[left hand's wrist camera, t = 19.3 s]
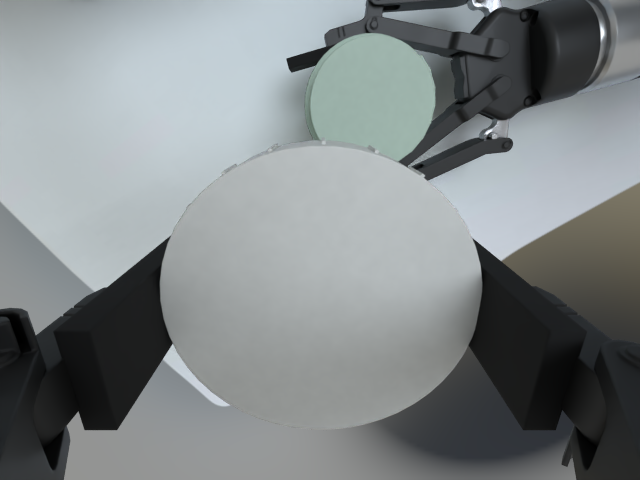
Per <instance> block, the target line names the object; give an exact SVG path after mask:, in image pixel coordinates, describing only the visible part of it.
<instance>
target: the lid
mask: <svg viewBox="0 0 640 480" xmlns="http://www.w3.org/2000/svg"><path fill="white" fill-rule="evenodd" d="M221 174H222V176H220V177H219V178H218V179H217V180H215V181H214V182H213V183H212V184H211V185H209V186H208V187H207V188H206V189H204V190H203V191H202V192H201V193H200V194H199V195H198V197H197V198H196V199H195V200H194V201H193V202H192V203H191V204H189V205H188V206H187V209H186V211H185V212H184V214H183V215H182V217H181V218H180V220H179V221H178V223H177V224H176V226H175V228H174V231H173V233H172V235H171V237H170V239H169V242H168V244H167V247H166V251H165V254H164V258H163V261H162V268H161V276H160V302H161V307H162V313H163V318H164V322H165V325H166V328H167V331H168V334H169V336H170V338H171V340H172V343H173V345H174V347H175V349H176V351H177V353H178V354H179V356H180V357H181V358H182V360H183V361H184V363H185V364H186V366H187V367H188V368H189V370H190V371H191V372H192V373H193V374H194V375H195V377H196V378H197V379H198V380H199V381H200V382H201V383H202V384H203V385H205V386H206V387H207V388H208V389H209V390H210V391H211V392H212V393H214V394H215V395H216V396H218V397H219V398H221V399H222V400H223V401H225V402H226V403H228V404H230V405H232V406H233V407H235V408H237V409H239V410H241V411H242V412H245V413H247V414H249V415H252V416H254V417H256V418H259V419H262V420H265V421H268V422H271V423H275V424H279V425H284V426H289V427H294V428H304V429H338V428H348V427H353V426H358V425H363V424H367V423H370V422H374V421H377V420H380V419H383V418H386V417H388V416H390V415H393V414H395V413H398V412H400V411H401V410H403V409H405V408H407V407H409V406H411V405H412V404H414V403H416V402H417V401H419V400H420V399H421V398H423V397H424V396H426V395H427V394H429V393H430V392H431V391H432V390H433V389H434V388H435V387H436V386H438V385H439V384H440V383H441V382H442V381H443V380H444V379H445V378H446V377H447V375H448V374H449V373H450V372H451V371H452V370H453V369H454V367H455V366H456V364H457V363H458V362H459V360H460V359H461V357H462V356H463V354H464V353H465V351H466V349H467V347H468V345H469V343H470V341H471V339H472V337H473V334H474V331H475V327H476V323H477V318H478V312H479V307H480V301H481V295H482V275H481V266H480V261H479V257H478V253H477V250H476V246H475V243H474V241H473V239H472V237H471V234H470V232H469V230H468V228H467V226H466V224H465V223H464V221H463V219H462V218H461V216H460V215H459V213H458V210H457V209H456V208H454V206H453V205H452V204H451V203H450V202H449V201H448V200H447V198H446V197H445V196H444V195H443V194H442V193H441V192H440V191H439V190H438V189H437V188H435V187H434V186H433V185H432V184H431V183H429V182H428V181H427V180H426V179H425V178H424V177H425V175H424V174H422V173H421V172H419V171H417V170H416V169H414V168H412V167H410V166H409V168H407V167H406V166H404V165H402V164H401V163H399V162H397V161H396V160H394V159H393V158H391V157H389V156H387V155H385V154H382V153H380V152H379V150H377V149H376V148H374V147H372V146H370V145H368V148H367V147H363V146H360V145H356V144H353V143H347V142H340V141H332V140H325V137H322V138H321V140H310V141H303V142H295V143H289V144H286V145H282V146H279V147H278V144H275V145H273V146H272V147H270V148H269V149H268V150H267V151H264V152H262V153H260V154H257V155H255V156H253V157H251V158H250V159H248V160H246V161H245V162H243V163H241V164H240V165H238V166H237V165H236V164H234V165H233V166H231V167H229V168H227V169H226V170H224V171H223V172H221Z"/></svg>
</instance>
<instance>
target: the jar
mask: <svg viewBox="0 0 640 480" xmlns="http://www.w3.org/2000/svg"><path fill="white" fill-rule="evenodd" d="M435 89H436V88H435V84H434V81H433V77H432V73H431V69H430V68H429V66H428V64H427V63H426V61H425V59H424V58H423V56H422V55H421V56H420V55H419V54H418V53H417V52H416V51H415V50H414V49H413V48H412V47H410V46H409V45H408V44H406V43H404V42H403V41H401V40H399V39H396V38H394V37H391V36H388V35H384V34H378V33H365V34H359V35H354V36H352V37H349V38H346V39H344V40H343V41H341V42H339V43H337V44H336V45H335V46H333V47H332V48H331V49H329V50H328V51H327V52H326V53H325V54H324V55H323V57H322V58H321V59H320V60H319V62H318V63H317V65H316V66H315V68H314V70H313V72H312V74H311V76H310V78H309V82H308V85H307V88H306V94H305V116H306V121H307V125H308V128H309V131H310V133H311V135H312V138H313V139H314V140H321V138H322V137H325V140H332V141H340V142H347V143H353V144H356V145H360V146H363V147H367V148H368V145H370V146H372V147H374V148H376V149H377V150H379V152H380V153H382V154H385V155H387V156H389V157H391V158H393V159H394V160H396V161H397V162H398V161H400V160H401V159H402V158H404V157H405V156H406V155H408V154H409V153H410V152H412V151H413V150H414V149H415V147H416V146H417V145H418V144H419V143H420V141H421V140H422V139H423V138H424V136H425V134H426V132H427V130H428V128H429V126H430V124H431V121H432V117H433V112H434V108H435Z"/></svg>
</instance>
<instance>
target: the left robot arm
mask: <svg viewBox="0 0 640 480" xmlns="http://www.w3.org/2000/svg"><path fill="white" fill-rule="evenodd" d="M170 237H171V236H170ZM170 237H169V238H167V239H166V240H165V241H164V242H162V243H161V244H160V245H159V246H158V247H156V248H155V249H154V250H153V251H151V252H150V253H149V254H148V255H146V256H145V257H144V258H143V259H142V260H140V261H139V262H138V263H137V264H135V265H134V266H133V267H132V268H130V269H129V270H128V271H127V272H126V273H124V274H123V275H122V276H121V277H119V278H118V279H117V280H116V281H114V282H113V283H112V284H111V285H110V286H108V287H107V288H102V289H100V290H98V291H96V292H94V293H92V294H90V295H88V296H86V297H85V298H84V299H82V300H81V301H80V302H78V303H77V304H76V305H75V306H74V308H71V309H69V310H68V311H67V312H66V313H64V314H63V316H61V317H59V318H58V319H57V320H55V321H54V322H53V323H52V324H50V325H49V326H48V327H46V328H45V329H44V330H42V331H41V332H40V333H39V334H37V335H35V332H34V329H33V327H32V324H31V321H30V318H29V315H28V312H27V311H25V310H23V309H18V308H7V309H0V480H64V475H65V469H66V463H67V457H68V451H69V445H70V436H69V432H68V429H67V424H68V423H69V422H70V421H71V419H72V418H73V417H74V416H75V415H76V413H77V412H78V411H79V414H80V417H81V420H82V423H83V426H84V429H85V430H117V429H118V428H119V426H120V425H121V423H122V422H123V420H124V419H125V417H126V415H127V414H128V412H129V411H130V409H131V408H132V406H133V404H134V403H135V401H136V400H137V398H138V397H139V395H140V394H141V392H142V391H143V389H144V387H145V386H146V384H147V383H148V381H149V380H150V378H151V377H152V375H153V373H154V372H155V370H156V369H157V367H158V366H159V364H160V363H161V361H162V359H163V358H164V356H165V355H166V353H167V352H168V350H169V349H170V347H171V345H172V344H173V343H172V340H171V338H170V336H169V334H168V331H167V328H166V325H165V322H164V318H163V313H162V307H161V302H160V276H161V268H162V261H163V258H164V254H165V251H166V247H167V244H168V242H169V239H170ZM472 239H473V238H472ZM473 241H474V243H475V246H476V250H477V253H478V257H479V261H480V266H481V275H482V295H481V301H480V307H479V312H478V318H477V323H476V327H475V331H474V334H473V337H472V339H471V341H470V343H469V347H470V348H471V350H472V351H473V353H474V354H475V356H476V358H477V359H478V360H479V362H480V364H481V365H482V367H483V368H484V370H485V372H486V373H487V375H488V376H489V378H490V379H491V381H492V382H493V384H494V386H495V387H496V389H497V390H498V392H499V393H500V395H501V396H502V398H503V399H504V401H505V403H506V404H507V406H508V407H509V409H510V410H511V412H512V413H513V415H514V417H515V418H516V420H517V421H518V423H519V424H520V426H521V427H522V429H523V430H556V427H557V424H558V421H559V418H560V415H561V412H562V410H563V411H564V412H565V414H566V415H567V416H568V417H569V418H570V420H571V421H572V422H573V423H574V426H573V429H572V432H571V434H570V437H569V440H568V443H567V446H566V449H565V452H564V455H563V459H562V465H564V466H568V464H569V461H570V459H571V458H573V462H574V468H575V474H576V480H640V344H638V343H634V342H630V341H623V340H612V339H610V338H609V337H608V336H607V335H605V334H604V333H603V332H601V331H600V330H599V329H597V328H596V327H595V326H594V325H592V324H591V323H590V322H588V321H587V320H586V319H584V318H583V317H582V316H581V315H577V312H575V311H574V310H573V309H572V308H570V307H567V305H566V304H565V303H564V302H563V301H561V300H560V299H559V298H557V297H556V296H555V295H553V294H551V293H549V292H547V291H545V290H543V289H541V288H538V287H536V286H531V285H529V284H528V283H527V282H526V281H524V280H523V279H522V278H521V277H520V276H518V275H517V274H516V273H515V272H513V271H512V270H511V269H510V268H509V267H507V266H506V265H505V264H503V263H502V262H501V261H500V260H499V259H497V258H496V257H495V256H494V255H493V254H491V253H490V252H489V251H488V250H486V249H485V248H484V247H483V246H481V245H480V244H479V243H478V242H477V241H475V240H474V239H473Z"/></svg>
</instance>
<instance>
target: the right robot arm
mask: <svg viewBox="0 0 640 480" xmlns="http://www.w3.org/2000/svg"><path fill="white" fill-rule="evenodd" d="M464 4H467V5H468V8H469V9H470V10H473V11H474V10H481V11H482V12H483V13H484V15H485V16H484V18H483V19H482V20H481V21H480V22H479V23H478V25H477V26H476V27H475V28H474V29H473V30H472V32H471V33H470V34H469V33H464V32H450V31H446V30H441V29H436V28H432V27H427V26H422V25H417V24H413V23H408V22H403V21H399V20H394V19H389V18H384V17H382V13H383V12H396V11H410V10H424V9H438V8H451V7H458V6H461V5H464ZM365 33H378V34H384V35H388V36H391V37H394V38H396V39H399V40H401V41H403V42H404V43H406V44H408V45H409V46H410V47H412V48H413V49H416V50H421V51H425V52H430V53H435V54H439V55H440V56H443V57H448V58H453V60H452V61H451V67H452V72H453V75H454V77H455V87H454V94H455V99H458V100H457V101H455V102H454V103H453V104H452V105H450V106H449V107H448V108H447V109H446V111H445V112H444V113H442V114H441V115H440V116H438V117H437V118H436V119H435V120H433V121H432V122H431V124H430V126H429V128H428V130H427V132H426V134H425V136H424V138H423V139H422V140H421V141H420V143H419V144H418V145H417V146H416V147H415V149H414V150H413V151H412V152H410V153H409V154H408V155H406V156H405V157H404V158H402V159H401V160H400V161H398V162H399V163H401V164H402V165H404V166H406V167H407V166H408V165H409V164H410V163H412V162H413V161H414V160H416V159H417V158H418V157H419V156H421V155H422V154H423V153H425V152H426V151H427V150H428V149H430V148H431V147H432V146H434V145H435V144H436V143H437V142H439V141H440V140H441V139H443V138H444V137H445V136H446V135H448V134H449V133H450V132H452V131H453V130H454V129H455V128H457V127H458V126H459V125H461V124H462V123H464V122H466V121H468V120H470V119H471V118H472V117H474V116H475V115H476V114H477V113H479V114H481V115H483V116H485V117H488V118H490V119H492V124H491V125H490V126H489V127H488V128H486V129H483V130H482V131H481V132H480V134H479V137H478V138H473V139H470V140H468V141H465V142H463V143H461V144H459V145H456V146H454V147H452V148H450V149H448V150H446V151H444V152H442V153H439V154H437V155H435V156H433V157H431V158H429V159H427V160H424V161H422V162H420V163H418V164H416V165H414V166H412V168H414V169H416V170H417V171H419V172H421V173H422V174H424V175H425V177H424V178H425V179H426V180H427V181H428V180H430V179H432V178H435V177H437V176H439V175H441V174H443V173H445V172H448V171H450V170H452V169H454V168H456V167H459V166H461V165H463V164H465V163H467V162H470V161H472V160H474V159H476V158H478V157H480V156H483V155H485V154H491V153H501V152H507V151H509V150H510V149H511V148H512V146H513V141H512V140H511V139H510V138H507V135H508V124H509V119H510V118H512V117H513V116H514V115H515V114H517V113H518V112H519V111H521V110H523V109H525V108H529V107H533V106H537V105H540V104H544V103H548V102H552V101H555V100H559V99H563V98H567V97H570V96H572V95H574V94H579V93H586V92H589V91H593V90H597V89H600V88H604V87H607V86H611V85H615V84H618V83H622V82H625V81H629V80H633V79H636V78H640V0H551V1H547V2H544V3H540V4H537V5H533V6H530V7H527V8H523V9H519V10H513V9H509V8H507V7H502V3H501V0H367V1H366V11H365V17H364V18H363V19H362V20H360V21H358V22H354V23H351V24H348V25H344V26H341V27H338V28H334V29H331V30H329V31H328V32H327V33H326V34H325V37H324V39H325V43H326V47H324V48H321V49H317V50H314V51H311V52H307V53H304V54H300V55H297V56H294V57H290V58H287V63H288V67H289V70H290V71H291V72H295V71H299V70H302V69H305V68H309V67H312V66H316V65H317V63H318V62H319V60H320V59H321V58H322V57H323V55H324V54H325V53H326V52H327V51H328V50H329V49H331V48H332V47H333V46H335V45H336V44H337V43H339V42H341V41H343V40H344V39H346V38H349V37H352V36H354V35H359V34H365ZM407 168H408V167H407Z"/></svg>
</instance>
